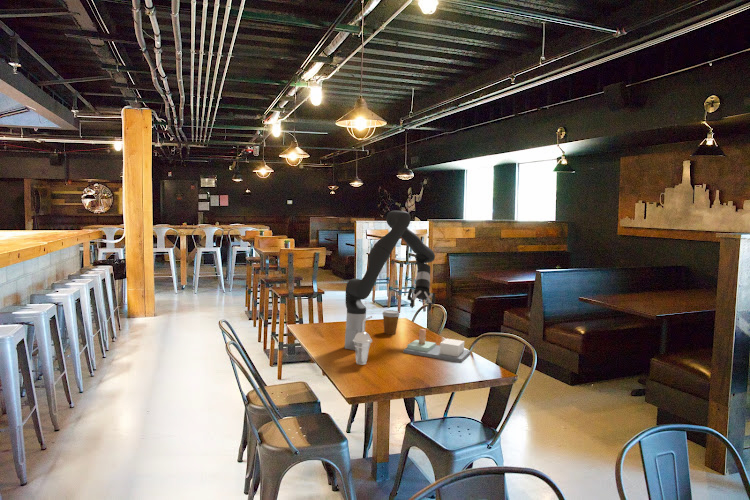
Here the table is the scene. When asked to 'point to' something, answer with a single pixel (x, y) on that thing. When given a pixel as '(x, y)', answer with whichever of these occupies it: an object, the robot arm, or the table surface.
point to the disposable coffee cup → (390, 321)
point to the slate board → (436, 354)
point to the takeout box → (451, 347)
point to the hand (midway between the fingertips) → (420, 308)
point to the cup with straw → (362, 345)
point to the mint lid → (421, 343)
